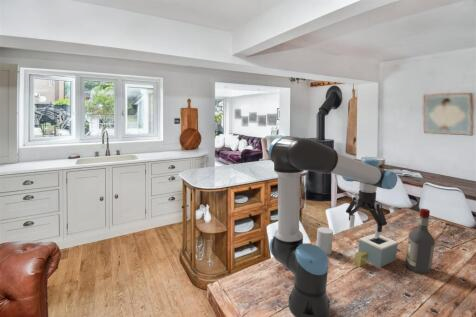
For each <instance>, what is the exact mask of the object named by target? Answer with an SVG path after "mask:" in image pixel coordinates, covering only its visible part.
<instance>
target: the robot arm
mask: <svg viewBox="0 0 476 317" xmlns="http://www.w3.org/2000/svg"><path fill="white" fill-rule="evenodd" d="M268 158H269V160H271V162H272V163H273V171H274V172H275V174H276V175H277V228H278V229H277V230H276V231H274V235H273V236H272V238H271V239H270V242H269V251H270V254H271V255H272V256H273V257H274V259H275V260H276V261H277V262H279V263H280V264H281V265H282V266H283V267H285V268H286V269H287V270H288V271H290V273H292V274H293V275H294V281H293V282H294V283H293V287H292V289H291V292H290V294H289V296H288V309H289V310H290V312H291V314H293V316H295V317H330V307H331V306H330V303H329V300H328V296H327V281H328V270H329V258H328V255H327V254H326V253H325V251H324V250H323V249H321V248H320V247H318V246H316V244H314V245H313V244H312V243H305V242H304V235H303V232H302V231H301V230H300V190H301V189H300V188H301V186H300V185H301V184H300V183H301V182H300V180H301V179H300V178H301V174H302V173H304V171H308V172H315V173H320V174H324V175H329V174H333V175H336V176H339V177H340V176H341V177H342V179H343V180H344V181H346V182H358V183H359V184H358V186H359V187H358V189H359V190H358V196H352V200H351V202H350V204H349V205H348V206H347V208H346V210H345V213H347V214H348V221H349V227H348V228H349V229H352V228H355V220H356V214H355V213H357V212H358V211H359V210H361V209H362V210H365V211H368V212H369V213H370V214H371V216H372V217H373V219H374V221H375V222H376V224H375V230H374V231H375V232H374V234H375V238H376V239H377V238H379V237H380V235H381V232H382V231H383V226H384V227H385V226H387V225H388V223H387V219H386V216H385V214H384V210H383V205H382V203H376V199H377V189H378V188H380V189H383V190H393V189H394V188H395V187H396V186H397V183H398V175H397V173H396V172H394V171H390V170H387V169H382V168H380V161H379V160H378V159H376V158H368V157H367V158H362V159H361V161H359V160H356V159H355V158H352V157H349V156H346V155H344V154H341V153H338V152H337V150H336V149H335V148H332V147H330V146H327V145H325V144H323V143H320V142H318V141H316V140H313V139H311V138H307V137H306V138H305V137H298V136H297V137H296V136H292V135H286V136H285V135H282V136H278V137H276V138H275V139H273V141H272V142H270V145H269V148H268ZM357 202H358V204H357ZM356 204H357V205H356ZM355 205H356V206H355Z"/></svg>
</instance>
